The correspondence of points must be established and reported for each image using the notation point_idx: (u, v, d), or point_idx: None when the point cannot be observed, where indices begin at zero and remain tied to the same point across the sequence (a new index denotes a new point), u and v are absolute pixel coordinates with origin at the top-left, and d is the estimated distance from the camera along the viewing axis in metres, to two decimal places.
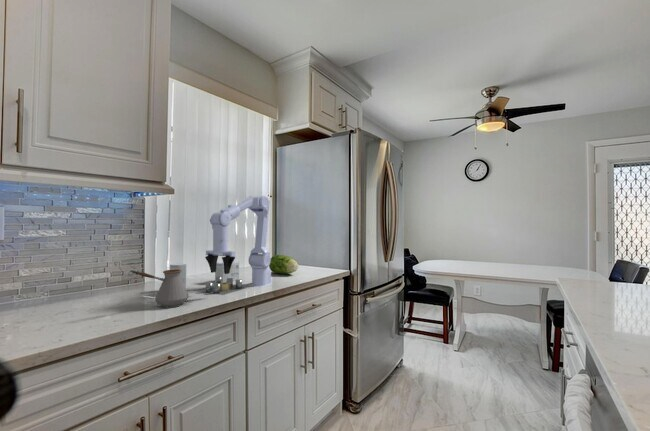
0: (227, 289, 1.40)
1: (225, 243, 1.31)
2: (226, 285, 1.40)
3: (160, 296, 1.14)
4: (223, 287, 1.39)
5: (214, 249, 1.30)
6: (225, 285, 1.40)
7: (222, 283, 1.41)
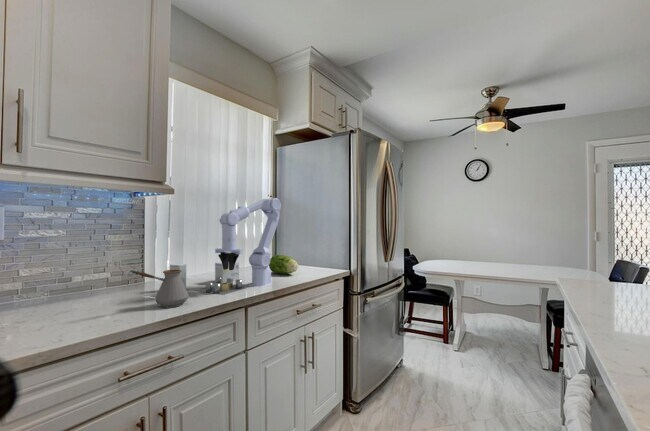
0: (227, 289, 1.40)
1: (233, 242, 1.40)
2: (226, 285, 1.40)
3: (160, 296, 1.14)
4: (223, 287, 1.39)
5: (223, 247, 1.39)
6: (225, 285, 1.40)
7: (222, 283, 1.41)
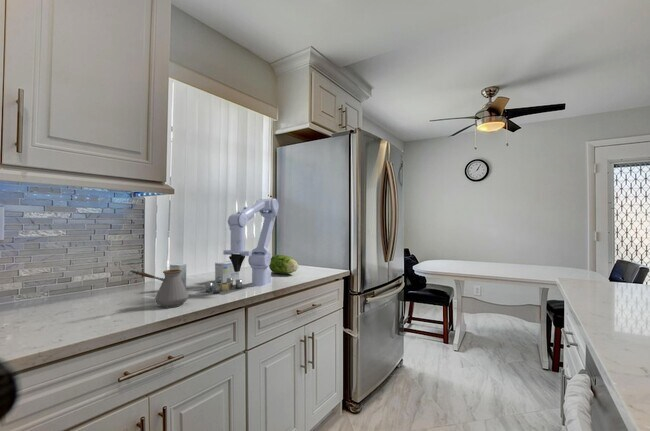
0: (227, 289, 1.40)
1: (242, 243, 1.38)
2: (226, 285, 1.40)
3: (160, 296, 1.14)
4: (223, 287, 1.39)
5: (232, 249, 1.37)
6: (225, 285, 1.40)
7: (222, 283, 1.41)
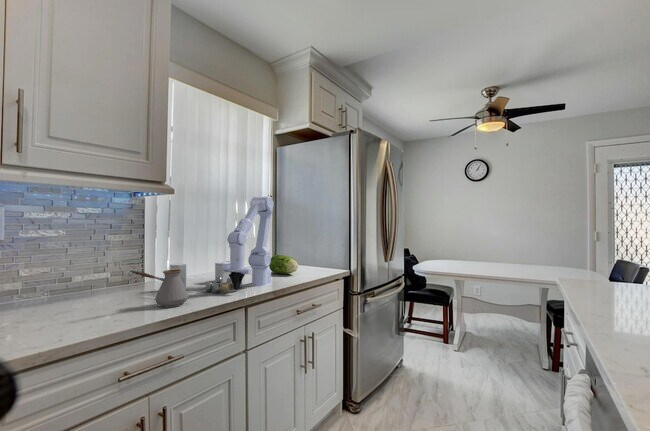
0: (227, 289, 1.40)
1: (242, 261, 1.38)
2: (226, 285, 1.40)
3: (160, 296, 1.14)
4: (223, 287, 1.39)
5: (231, 267, 1.37)
6: (225, 285, 1.40)
7: (222, 283, 1.41)
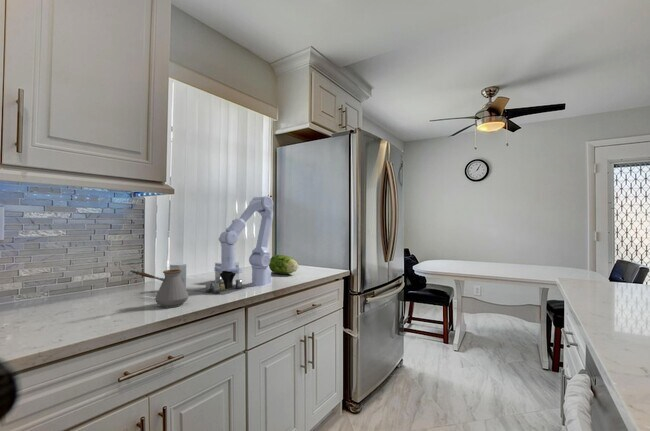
0: (223, 289, 1.41)
1: (233, 260, 1.40)
2: (222, 285, 1.41)
3: (160, 296, 1.14)
4: None
5: (222, 266, 1.39)
6: (221, 285, 1.40)
7: None
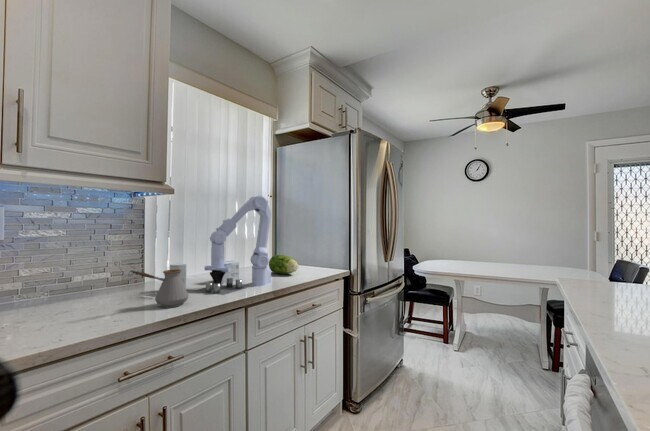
0: None
1: (222, 260, 1.43)
2: None
3: (160, 296, 1.14)
4: None
5: (212, 265, 1.42)
6: None
7: (209, 281, 1.45)
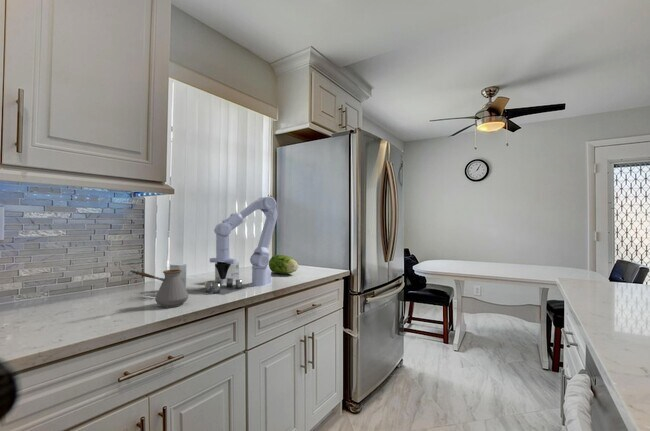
0: None
1: (227, 251, 1.43)
2: None
3: (160, 296, 1.14)
4: None
5: (217, 257, 1.42)
6: None
7: (208, 281, 1.46)
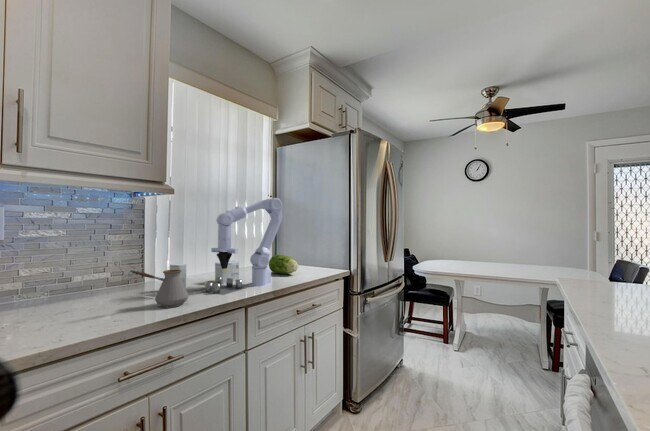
0: None
1: (229, 241, 1.44)
2: None
3: (160, 296, 1.14)
4: None
5: (219, 246, 1.43)
6: None
7: (208, 281, 1.46)
